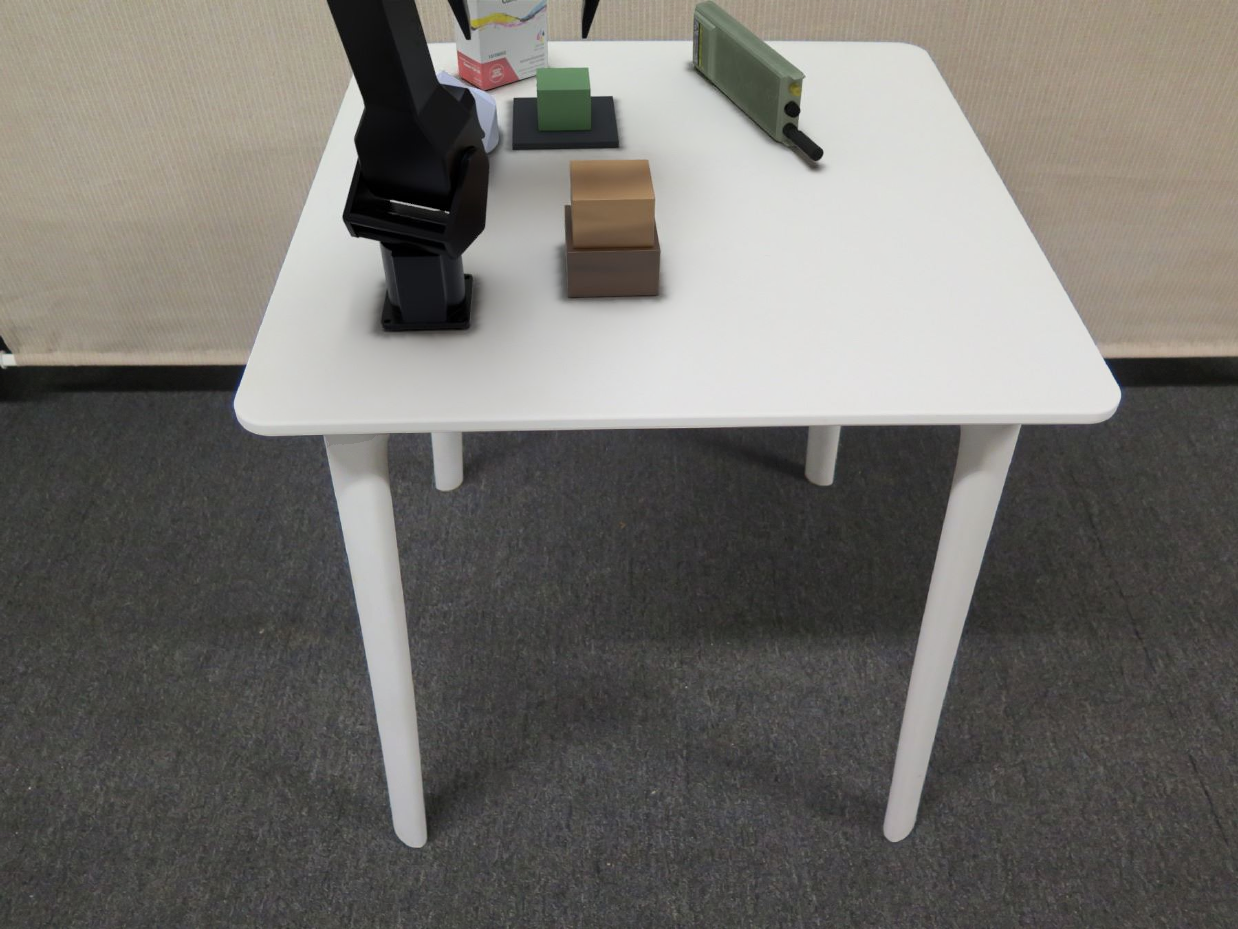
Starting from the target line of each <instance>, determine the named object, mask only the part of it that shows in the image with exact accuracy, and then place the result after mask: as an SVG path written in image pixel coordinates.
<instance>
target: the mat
mask: <svg viewBox="0 0 1238 929" xmlns="http://www.w3.org/2000/svg"><path fill="white" fill-rule="evenodd" d="M512 103H513V104H512V137H511V138H512V140H511V143H512V145H511V146H512V150H532V149H533V150H538V149H539V150H540V149H541V150H542V149H543V150H544V149H591V148H592V149H593V148H594V149H595V148H619V147H620V140H619V132H618V125H617V118H616V117H617V116H616V110H615V102H614V96H613V95H596V96H595V95H593V96H592V95H591V130H559V131H539V129H538V107H537V96H533V97H532V96H529V97H527V96H526V97H513V102H512Z"/></svg>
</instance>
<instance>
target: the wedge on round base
mask: <svg viewBox="0 0 1238 929" xmlns="http://www.w3.org/2000/svg"><path fill="white" fill-rule="evenodd" d="M436 76H437V79H438V81H439V82H440V83H441V84H447V85H453V86H458V87H464V88H468V89H469V90H470V92H471V93H472V95H473V97H474V98H475V101H476V107H477V114H478V119H479V122H480V125H481V128H482V129H483V131H484V132H485V138H483V139H482V142H483V144H484V148H485V152H486V153H487V154H489V153H491V152H492V151H493V150H494V149H495V148H496V147H497V146H498V143H499V139H500V138H499V137H500V134H499V124H498V109H497V102H496V99H495V98H494V96H493V95H491V93H488V92H487V91H486V90H482V89H480V88H478V87H477V88H476V87H472V86H467V85H466V84H464V83H463V82H462V81H460V80H458V79H457V78H455V76H453V75H451V74H450V73H449V72H447V71H446V70H444V69H443V70H441V72H439V73H438V74H436Z"/></svg>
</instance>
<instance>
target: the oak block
mask: <svg viewBox="0 0 1238 929" xmlns="http://www.w3.org/2000/svg"><path fill="white" fill-rule="evenodd" d="M569 190H570V191H569V192H570V193H569V194H570V197H569V198H570V205H571V221H572V239H573V248H613V247H653V244H654V220H655V221H656V215H655V214H656V194H655V190H654V183H653V177H652V172H651V167H650V160H649V159H647V158H645V159H639V158H638V159H595V160H594V159H593V160H591V159H590V160H587V159H586V160H585V159H584V160H569Z"/></svg>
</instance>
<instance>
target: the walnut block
mask: <svg viewBox="0 0 1238 929" xmlns="http://www.w3.org/2000/svg"><path fill="white" fill-rule="evenodd" d="M563 206H564V207H563V211H564V212H563V214H564V243H565V244H564V246H565V263H566V264H565V268H566V269H565V271H566V289H567V297H568V298H590V297H591V298H592V297H598V298H599V297H630V296H631V297H632V296H633V297H635V296H658V295H659V294H660V292H659V291H660V273H661V271H660V270H661V245H660V239H659V234H658V228H657V223H656V222H657V221H656V219H655V220H654V244H653V247H613V248H573V239H572V221H571V204H565V205H563Z"/></svg>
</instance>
